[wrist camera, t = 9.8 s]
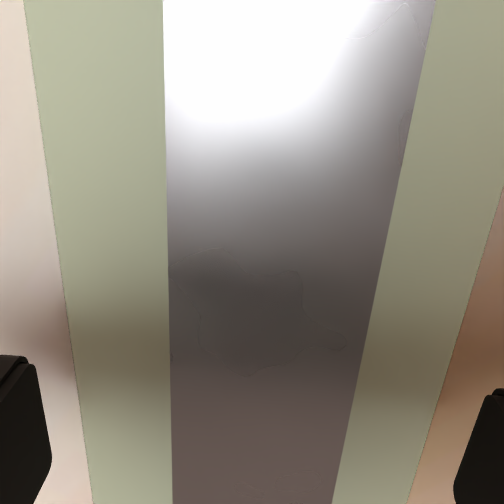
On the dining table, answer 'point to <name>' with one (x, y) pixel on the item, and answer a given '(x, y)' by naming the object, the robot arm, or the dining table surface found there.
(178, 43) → the rail
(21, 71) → the dining table surface
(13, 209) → the dining table surface
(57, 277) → the dining table surface
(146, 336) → the board
